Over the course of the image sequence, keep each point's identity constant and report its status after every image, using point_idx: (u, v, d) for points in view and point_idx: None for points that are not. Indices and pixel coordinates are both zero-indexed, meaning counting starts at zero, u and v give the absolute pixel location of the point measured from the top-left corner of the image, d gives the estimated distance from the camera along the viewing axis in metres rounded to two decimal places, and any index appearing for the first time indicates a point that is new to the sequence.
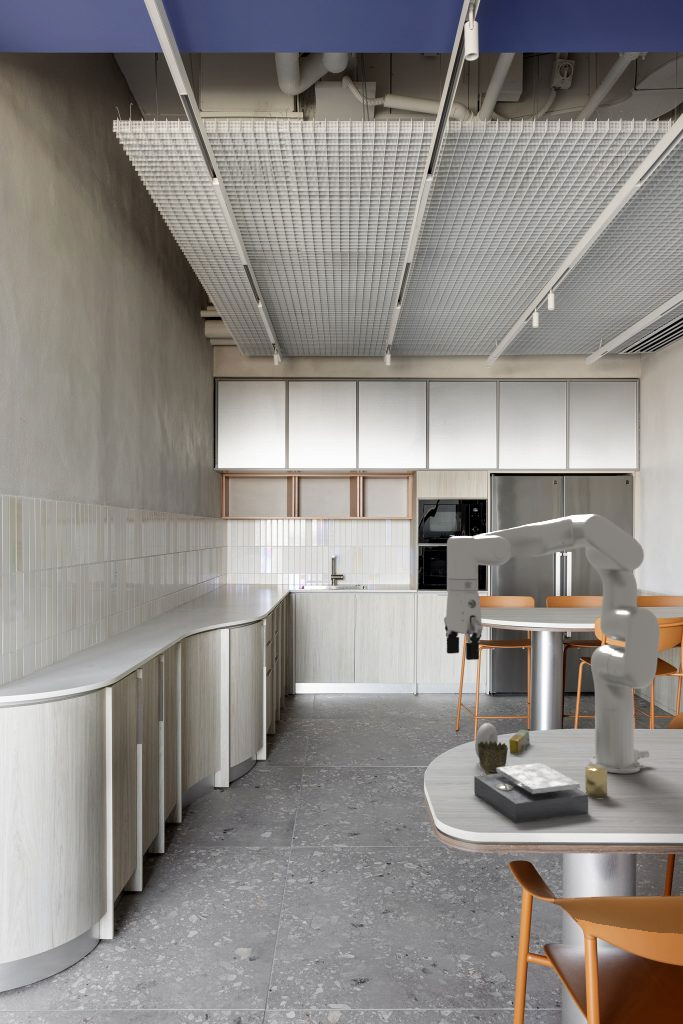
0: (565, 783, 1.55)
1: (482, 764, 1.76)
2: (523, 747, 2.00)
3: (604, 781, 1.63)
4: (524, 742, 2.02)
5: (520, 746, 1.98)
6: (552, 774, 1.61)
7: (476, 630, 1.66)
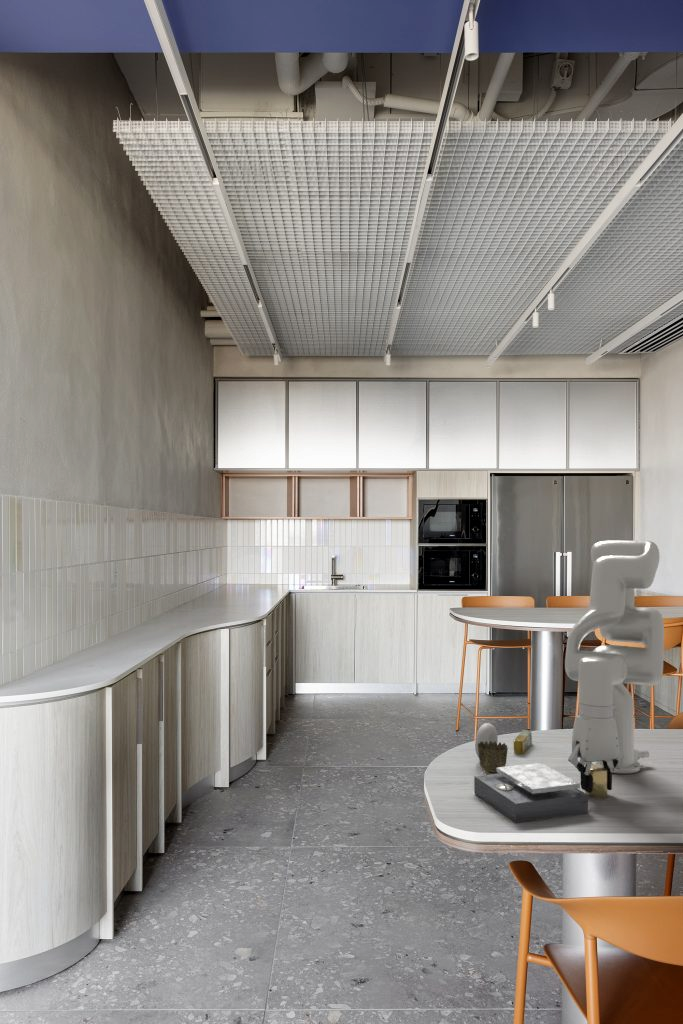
0: (565, 783, 1.55)
1: (482, 764, 1.76)
2: (527, 747, 2.00)
3: (604, 781, 1.63)
4: (527, 742, 2.01)
5: (524, 747, 1.97)
6: (552, 774, 1.61)
7: (619, 758, 1.67)
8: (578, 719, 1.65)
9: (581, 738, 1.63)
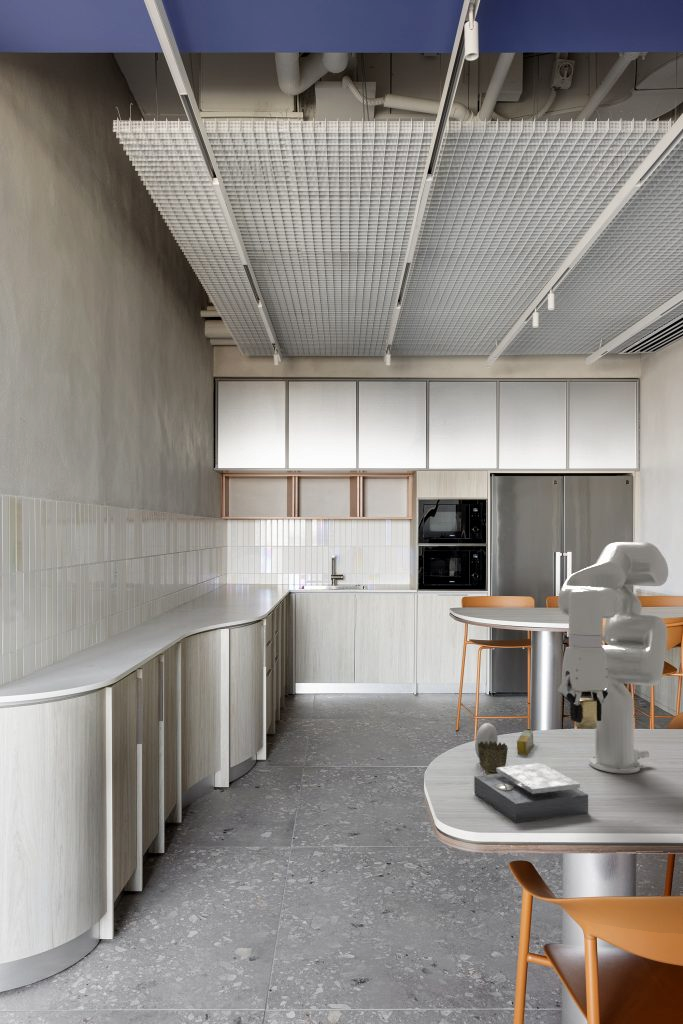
0: (565, 783, 1.55)
1: (482, 764, 1.76)
2: (529, 748, 2.00)
3: (594, 711, 1.63)
4: (530, 743, 2.01)
5: (527, 747, 1.97)
6: (552, 774, 1.61)
7: (609, 690, 1.66)
8: (568, 649, 1.64)
9: (571, 668, 1.63)
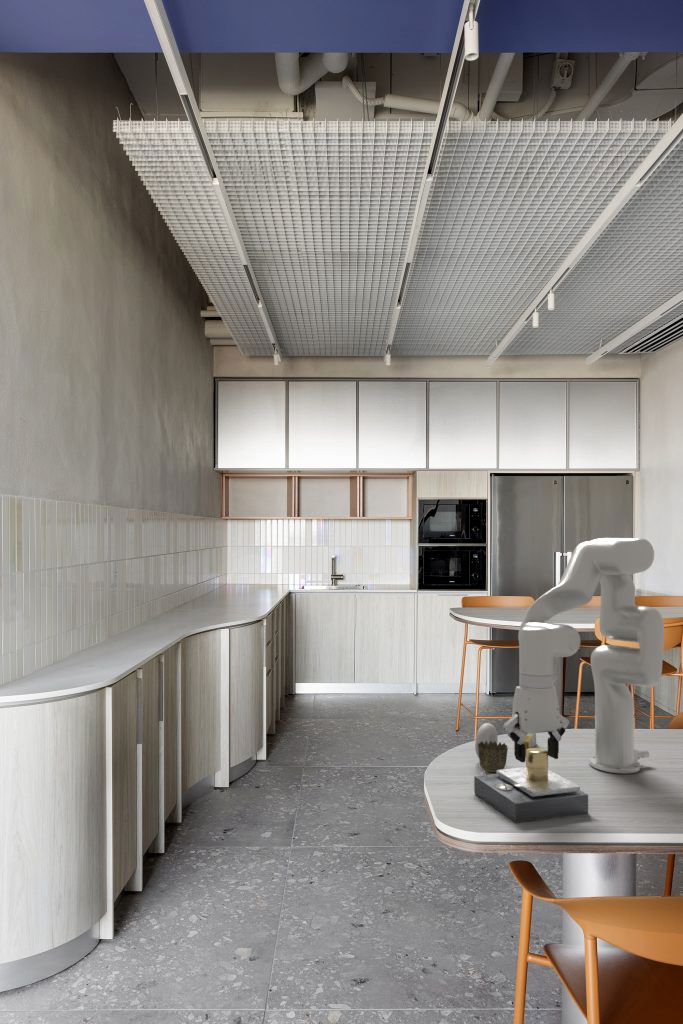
0: (565, 786, 1.55)
1: (482, 764, 1.76)
2: None
3: (545, 764, 1.58)
4: (533, 743, 2.01)
5: (530, 747, 1.97)
6: (552, 777, 1.61)
7: (565, 725, 1.62)
8: (518, 689, 1.60)
9: (520, 709, 1.58)
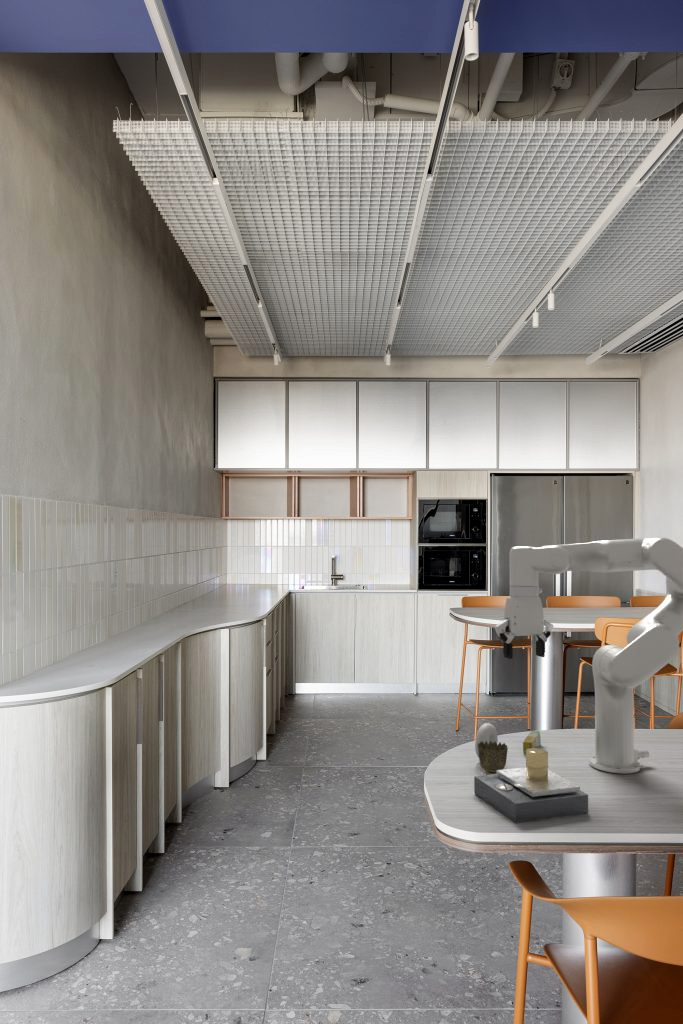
0: (565, 786, 1.55)
1: (482, 764, 1.76)
2: None
3: (545, 764, 1.58)
4: (536, 743, 2.00)
5: None
6: (552, 777, 1.61)
7: (550, 628, 1.90)
8: (508, 599, 1.87)
9: (510, 615, 1.86)
